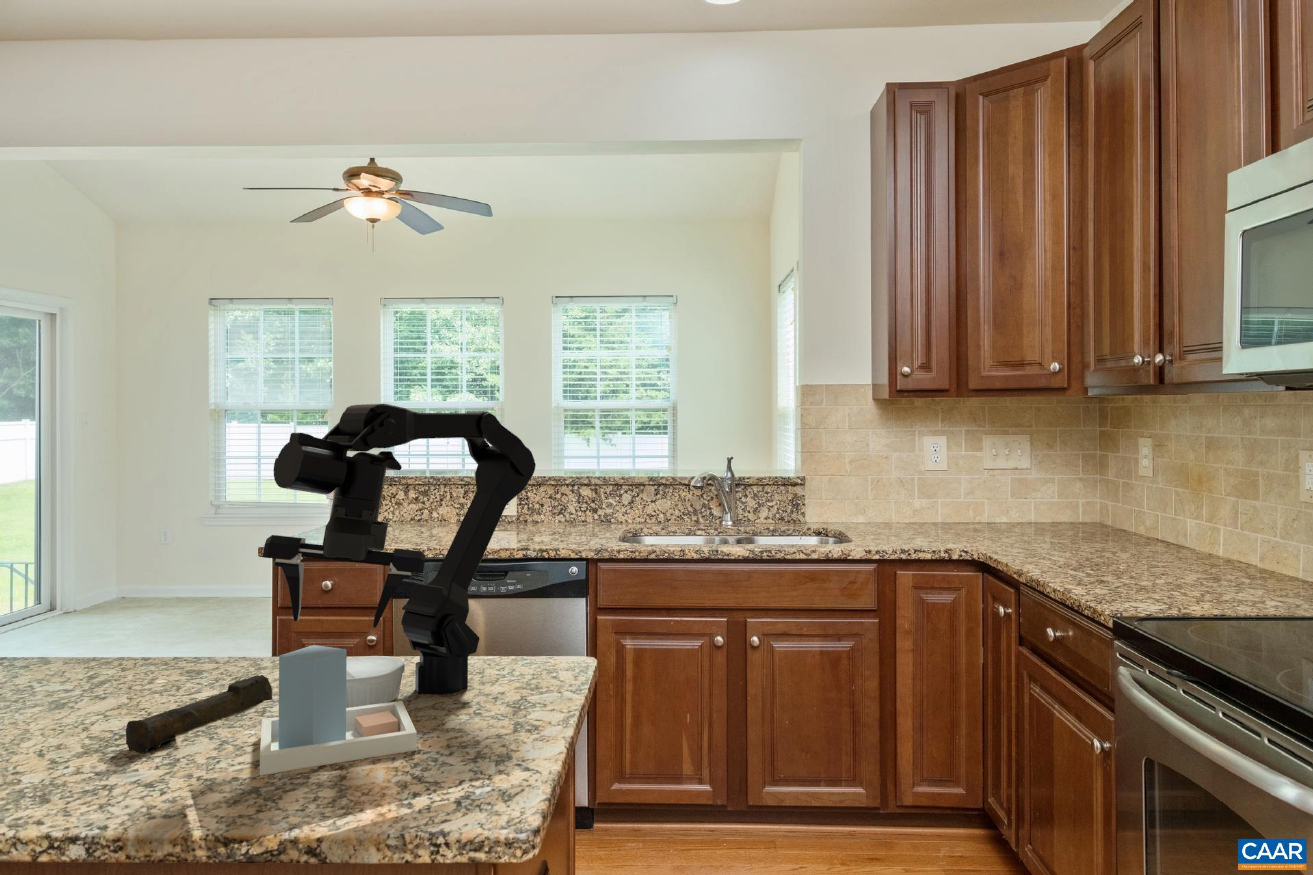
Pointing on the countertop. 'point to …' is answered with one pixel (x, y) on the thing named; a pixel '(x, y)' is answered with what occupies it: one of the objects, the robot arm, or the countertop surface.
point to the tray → (338, 742)
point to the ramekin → (372, 680)
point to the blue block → (312, 696)
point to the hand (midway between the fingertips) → (335, 624)
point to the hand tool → (196, 713)
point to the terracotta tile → (376, 724)
